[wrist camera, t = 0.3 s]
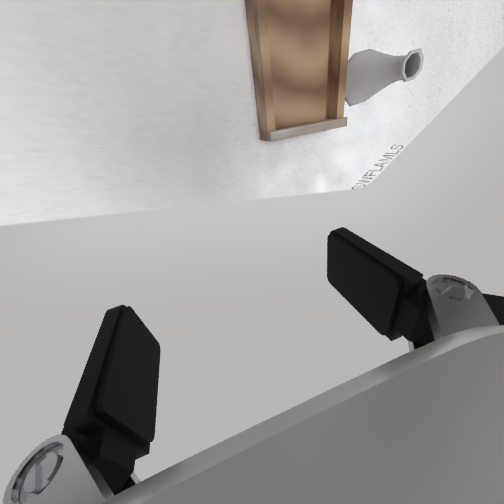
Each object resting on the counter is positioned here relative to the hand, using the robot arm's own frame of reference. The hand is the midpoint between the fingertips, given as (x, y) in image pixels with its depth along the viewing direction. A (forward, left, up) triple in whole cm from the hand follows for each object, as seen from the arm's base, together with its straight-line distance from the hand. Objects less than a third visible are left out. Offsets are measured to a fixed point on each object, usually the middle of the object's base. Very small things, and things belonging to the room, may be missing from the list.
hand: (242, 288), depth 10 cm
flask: (-9, +31, -31) cm, 44 cm away
